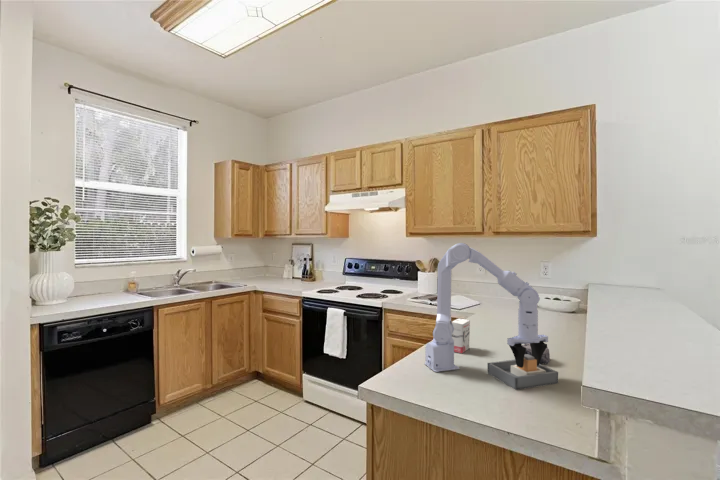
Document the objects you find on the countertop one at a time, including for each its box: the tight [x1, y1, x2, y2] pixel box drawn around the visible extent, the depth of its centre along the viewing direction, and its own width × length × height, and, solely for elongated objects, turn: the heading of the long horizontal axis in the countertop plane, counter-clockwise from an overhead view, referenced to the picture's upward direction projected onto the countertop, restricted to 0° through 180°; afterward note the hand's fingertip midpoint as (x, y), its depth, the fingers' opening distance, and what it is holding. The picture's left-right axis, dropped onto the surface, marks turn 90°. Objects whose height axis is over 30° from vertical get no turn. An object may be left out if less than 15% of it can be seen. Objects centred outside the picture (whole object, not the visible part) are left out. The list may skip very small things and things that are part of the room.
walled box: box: [487, 359, 559, 391], centre depth 109 cm, size 16×13×4 cm
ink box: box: [451, 318, 471, 354], centre depth 137 cm, size 9×5×12 cm, turn 143°
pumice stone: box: [522, 343, 551, 365], centre depth 125 cm, size 10×8×10 cm
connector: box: [519, 354, 537, 372], centre depth 110 cm, size 4×4×6 cm
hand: (527, 365), depth 110 cm, fingers open, 6 cm apart
